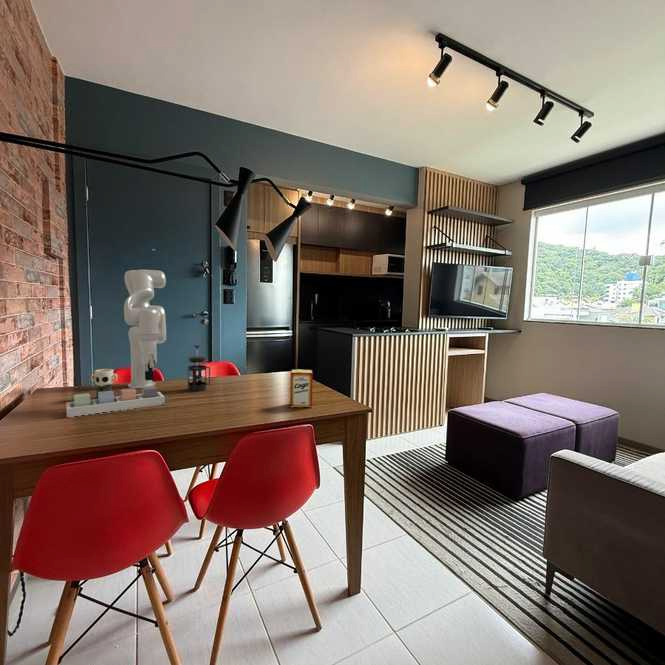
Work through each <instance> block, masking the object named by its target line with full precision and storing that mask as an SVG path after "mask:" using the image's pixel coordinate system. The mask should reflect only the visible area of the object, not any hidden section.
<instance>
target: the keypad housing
mask: <svg viewBox="0 0 665 665" xmlns="http://www.w3.org/2000/svg"><path fill="white" fill-rule="evenodd" d="M165 398H166V397H165V395H164V394H162V392H161V391H157V397H152V398H143V397H142V393H136V400H128V401H122V400H121V395H120V396H114V402H112V403H104V404H99V402H98V399H97V398H95V399H94V398H93V399H90V405H88V406H79V407H75V406H74V401H70V402H69V401H68V402H66V403H65V404H66V406H65V407H66V408H65V410H66V411H65V412H66V418H67V417H71V418H75V417H74V416H78V417H82V416H81V415H85V416H89V415H88V414H92V415H96V414H95V413H100V414H103V413H102V412H107V413H111V412H110V411H114V412H118V411H119V410H121V411H127V409H129V410H135V409H134V408H136V409H142V407H143V408H149V406H150V407H156V405H157V406H163V405H162V404H165V405H166V403H165V402H166V401H165ZM119 412H120V411H119Z"/></svg>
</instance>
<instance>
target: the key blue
mask: <svg viewBox="0 0 665 665" xmlns="http://www.w3.org/2000/svg"><path fill="white" fill-rule="evenodd" d="M114 397H115V392H114V391H113V389H112V391H102V392H98V402H99V404H104V403H112V402H114Z"/></svg>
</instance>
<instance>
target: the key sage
mask: <svg viewBox="0 0 665 665" xmlns="http://www.w3.org/2000/svg"><path fill="white" fill-rule="evenodd" d="M90 400H91V394H90V392H85V393H84V392H83V393H76V394H73V402H74V406H75V407H79V406H88V405H90Z"/></svg>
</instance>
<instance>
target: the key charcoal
mask: <svg viewBox="0 0 665 665" xmlns="http://www.w3.org/2000/svg"><path fill="white" fill-rule="evenodd" d="M157 392H158V388H157V387H156V385H154V386H149V387H142V388H141V394H142V397H143V398H152V397H157Z"/></svg>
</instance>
